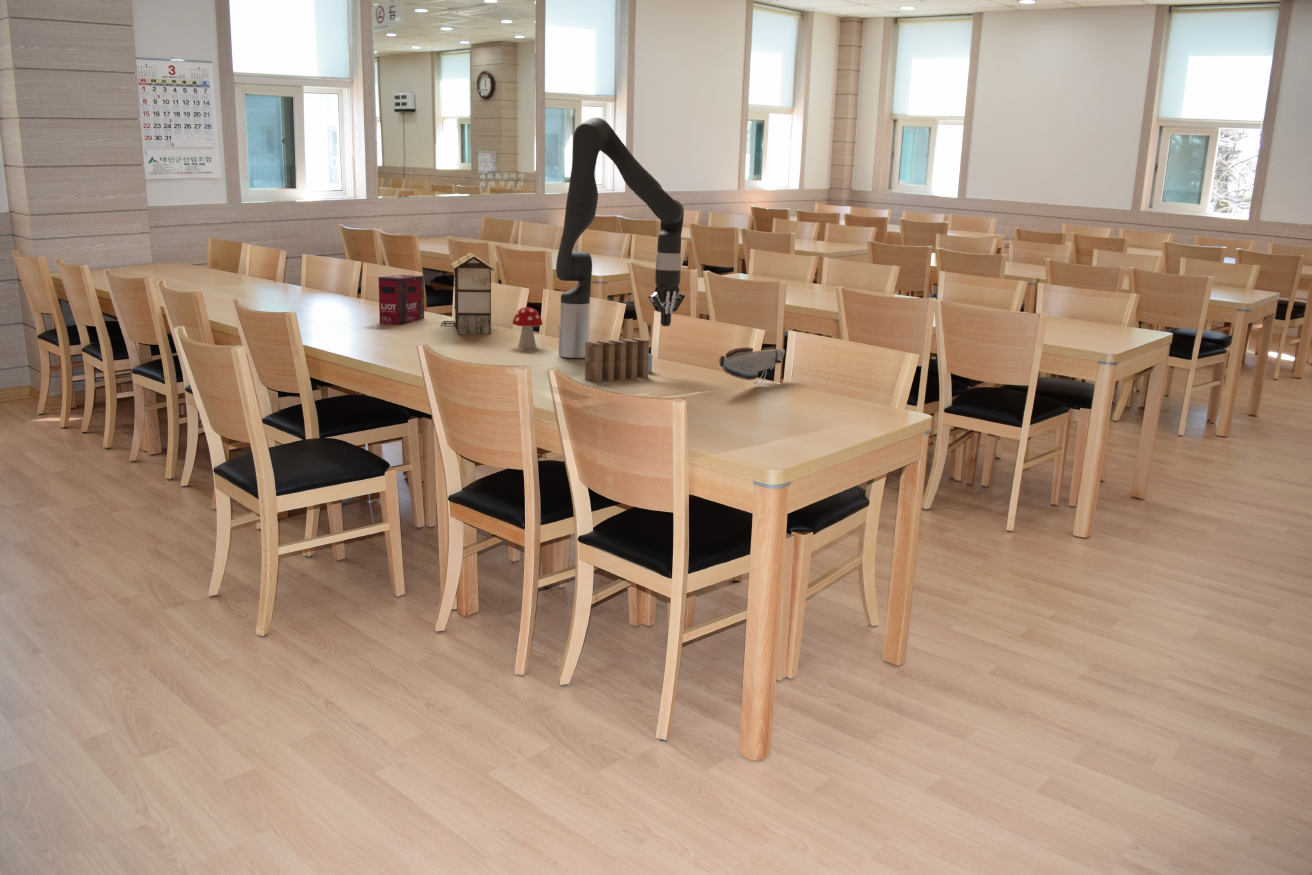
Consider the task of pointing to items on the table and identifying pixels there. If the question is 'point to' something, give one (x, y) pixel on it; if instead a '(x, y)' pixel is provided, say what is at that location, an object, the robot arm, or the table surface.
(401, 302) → the box
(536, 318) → the decorative mushroom
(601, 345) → the tile
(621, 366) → the tile
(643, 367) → the tile
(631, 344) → the tile
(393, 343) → the table surface
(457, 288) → the miniature building
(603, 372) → the tile
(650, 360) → the slate tile
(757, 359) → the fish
